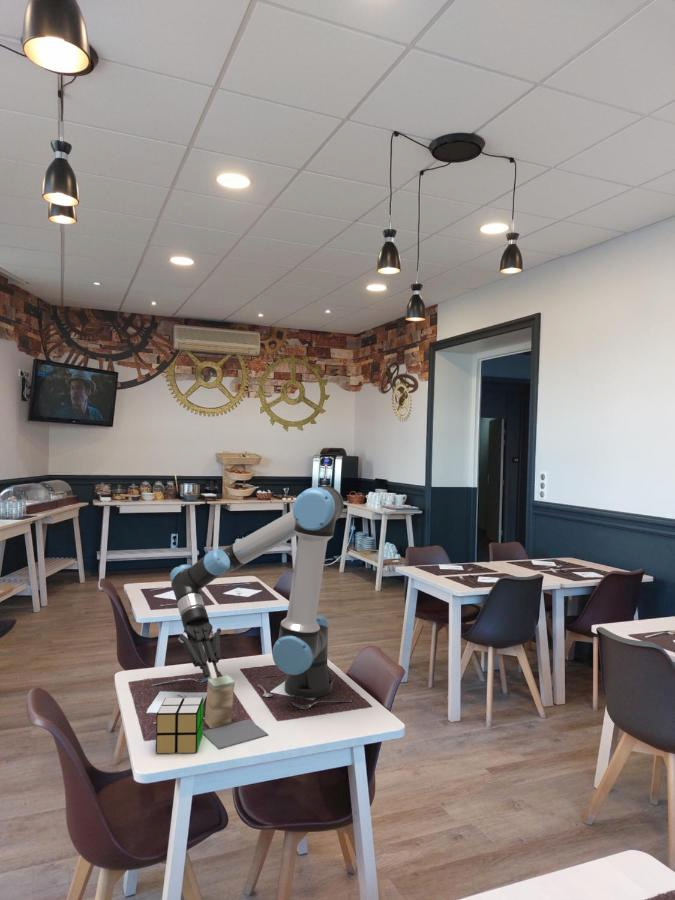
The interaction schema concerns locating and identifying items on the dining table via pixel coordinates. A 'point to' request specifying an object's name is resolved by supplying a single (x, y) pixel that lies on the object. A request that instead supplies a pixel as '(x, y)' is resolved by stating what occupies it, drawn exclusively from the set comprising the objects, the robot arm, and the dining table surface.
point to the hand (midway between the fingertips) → (215, 686)
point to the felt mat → (234, 734)
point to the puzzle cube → (179, 725)
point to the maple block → (219, 701)
